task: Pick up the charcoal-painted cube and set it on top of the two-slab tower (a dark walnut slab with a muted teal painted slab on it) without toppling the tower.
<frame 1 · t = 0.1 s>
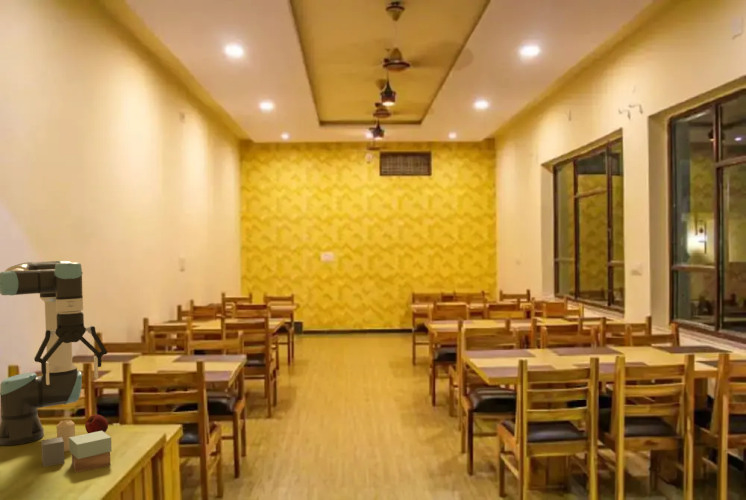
hand: (72, 380, 191), 28 cm above the table, fingers open, 13 cm apart
beige bottle: (66, 449, 212), on the table
tower base: (91, 465, 196), on the table, touching tower top
tower top: (90, 451, 196), point 4 cm above the table, touching tower base
block: (53, 462, 199), on the table
apple: (97, 436, 226), on the table
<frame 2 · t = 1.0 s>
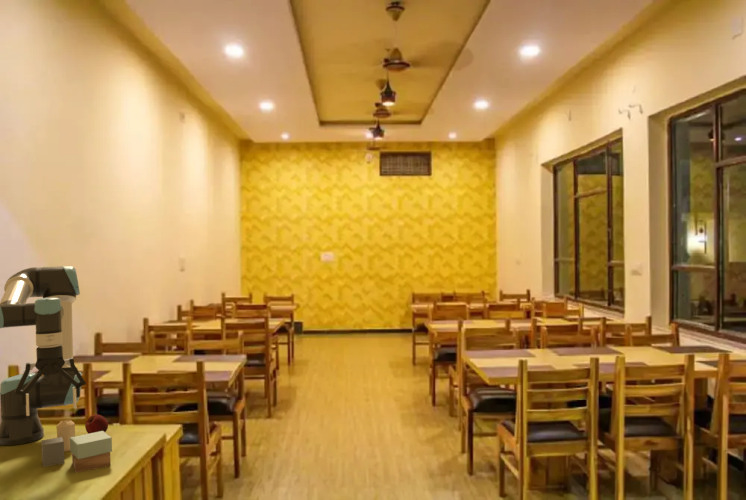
hand: (51, 411, 199), 16 cm above the table, fingers open, 13 cm apart
nothing on the table moved.
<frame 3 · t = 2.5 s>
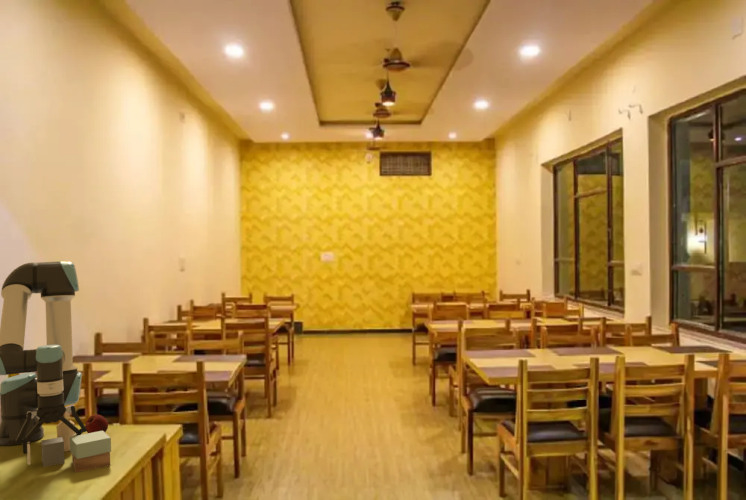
hand: (53, 459, 199), 1 cm above the table, fingers open, 13 cm apart
nothing on the table moved.
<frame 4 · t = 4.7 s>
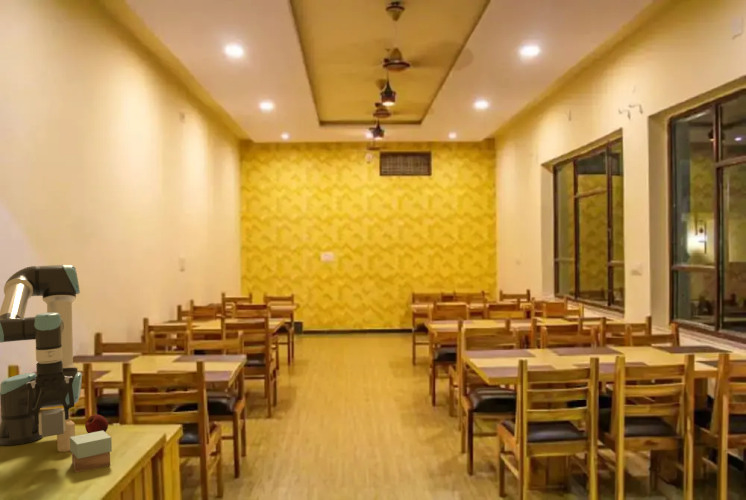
hand: (52, 431, 200), 10 cm above the table, fingers closed on block, 6 cm apart
block: (52, 433, 200), point 9 cm above the table, touching gripper
everything else where it was.
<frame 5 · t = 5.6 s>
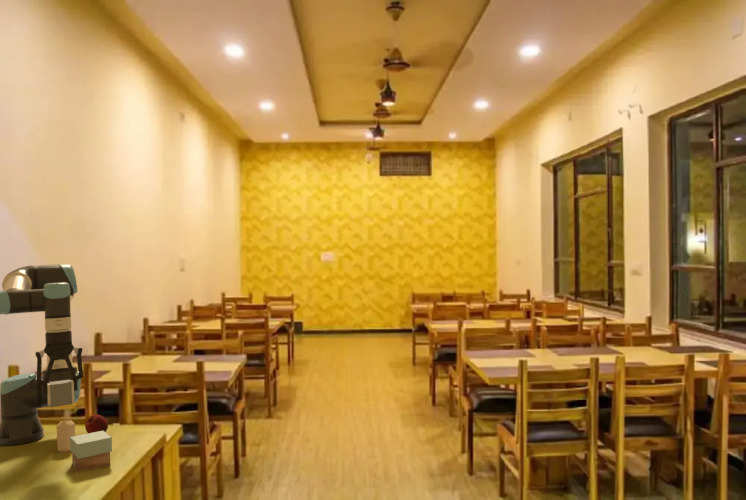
hand: (61, 402, 198), 20 cm above the table, fingers closed on block, 6 cm apart
block: (61, 404, 198), point 19 cm above the table, touching gripper
everything else where it was.
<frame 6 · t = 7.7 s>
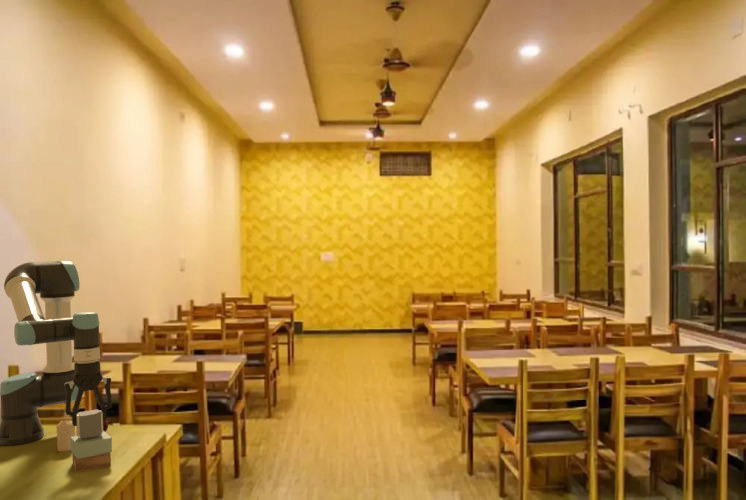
hand: (89, 433, 196), 10 cm above the table, fingers closed on block, 6 cm apart
block: (90, 434, 196), point 9 cm above the table, touching gripper
everything else where it was.
when the fingers open (10 cm above the table, at t = 8.7 s): block stays where it is, resting on tower top.
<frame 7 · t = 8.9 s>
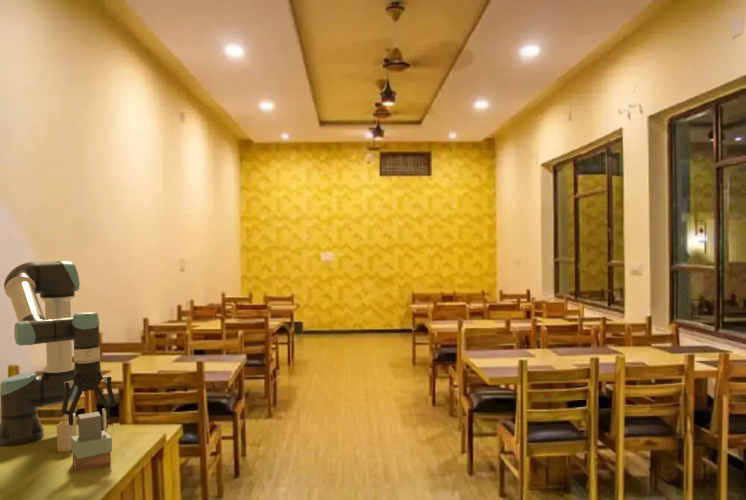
hand: (89, 432, 196), 10 cm above the table, fingers open, 8 cm apart
tower top: (91, 451, 196), point 4 cm above the table, touching block, tower base
block: (90, 437, 196), point 9 cm above the table, touching tower top
everything else where it was.
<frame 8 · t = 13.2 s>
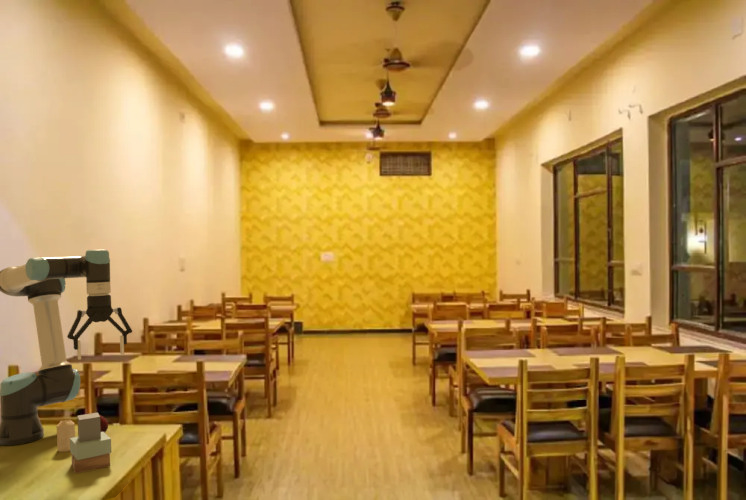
hand: (101, 356, 211), 32 cm above the table, fingers open, 13 cm apart
nothing on the table moved.
at the end: block inside the target area on the tower base (0.4 cm from its centre), point 9.0 cm above the tower base's base; block tilted 0°; tower top moved 0.9 cm from its start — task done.
